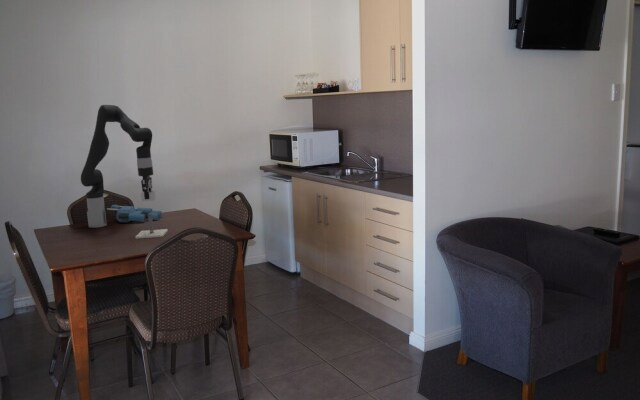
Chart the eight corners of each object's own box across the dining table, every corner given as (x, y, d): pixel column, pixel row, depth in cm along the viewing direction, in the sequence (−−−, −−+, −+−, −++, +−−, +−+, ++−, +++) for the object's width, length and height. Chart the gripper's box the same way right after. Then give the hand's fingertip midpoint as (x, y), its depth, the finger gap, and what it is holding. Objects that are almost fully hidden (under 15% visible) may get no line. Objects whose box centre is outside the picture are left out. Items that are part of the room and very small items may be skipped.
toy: (155, 211, 333) (103, 207, 331) (154, 226, 334) (103, 223, 332) (163, 205, 355) (115, 201, 353) (163, 219, 356) (114, 215, 354)
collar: (141, 201, 295) (140, 192, 294) (144, 199, 300) (143, 191, 300) (153, 200, 295) (152, 192, 294) (155, 198, 301) (154, 190, 300)
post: (135, 238, 293) (133, 217, 291) (141, 232, 307) (139, 212, 305) (162, 236, 294) (160, 215, 292) (167, 230, 308) (165, 211, 306)
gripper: (140, 165, 302) (144, 196, 304) (134, 168, 287) (137, 200, 290) (155, 164, 302) (158, 195, 305) (149, 167, 288) (152, 199, 291)
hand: (148, 198), depth 297 cm, fingers closed on collar, 6 cm apart
